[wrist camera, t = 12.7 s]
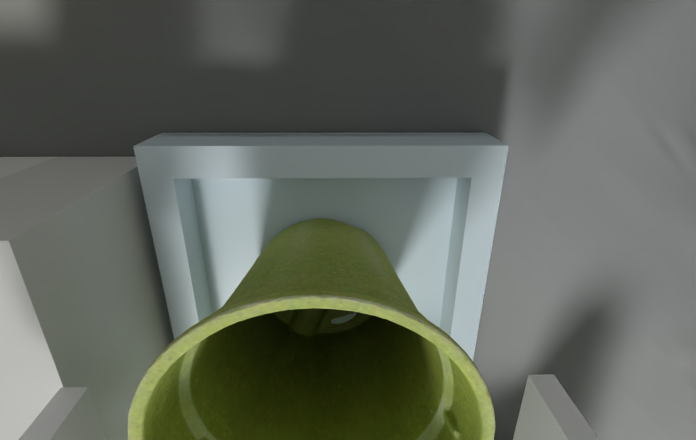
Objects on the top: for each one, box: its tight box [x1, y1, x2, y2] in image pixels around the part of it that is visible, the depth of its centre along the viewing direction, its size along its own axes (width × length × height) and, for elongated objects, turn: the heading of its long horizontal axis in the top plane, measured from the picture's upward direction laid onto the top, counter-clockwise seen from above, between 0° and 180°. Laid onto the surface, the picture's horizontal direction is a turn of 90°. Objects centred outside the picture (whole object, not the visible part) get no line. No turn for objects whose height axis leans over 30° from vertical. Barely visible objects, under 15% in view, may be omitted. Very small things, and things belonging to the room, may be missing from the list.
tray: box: [133, 132, 509, 361], centre depth 18 cm, size 13×13×2 cm
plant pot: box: [128, 219, 495, 440], centre depth 14 cm, size 9×9×9 cm
